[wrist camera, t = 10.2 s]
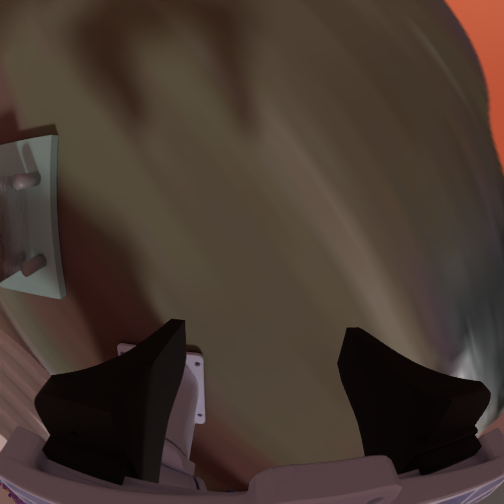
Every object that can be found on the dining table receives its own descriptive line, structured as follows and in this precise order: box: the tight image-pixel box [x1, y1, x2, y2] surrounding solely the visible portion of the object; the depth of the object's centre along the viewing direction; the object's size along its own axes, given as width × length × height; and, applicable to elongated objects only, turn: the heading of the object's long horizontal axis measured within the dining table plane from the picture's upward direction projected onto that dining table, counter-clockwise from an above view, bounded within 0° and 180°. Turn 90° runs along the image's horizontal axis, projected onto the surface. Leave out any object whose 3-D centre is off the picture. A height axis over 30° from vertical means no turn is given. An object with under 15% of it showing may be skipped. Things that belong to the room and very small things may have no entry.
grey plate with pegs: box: [0, 135, 67, 299], centre depth 18 cm, size 14×10×4 cm
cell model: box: [0, 480, 27, 504], centre depth 32 cm, size 17×20×11 cm
